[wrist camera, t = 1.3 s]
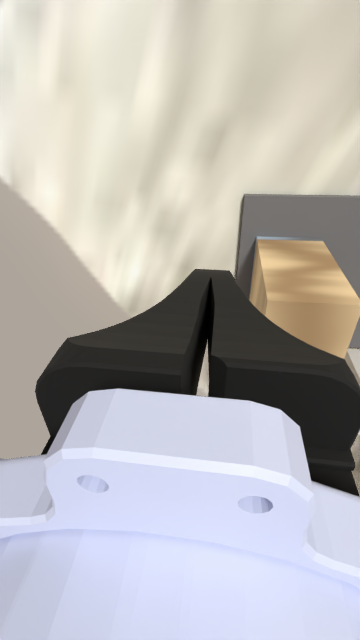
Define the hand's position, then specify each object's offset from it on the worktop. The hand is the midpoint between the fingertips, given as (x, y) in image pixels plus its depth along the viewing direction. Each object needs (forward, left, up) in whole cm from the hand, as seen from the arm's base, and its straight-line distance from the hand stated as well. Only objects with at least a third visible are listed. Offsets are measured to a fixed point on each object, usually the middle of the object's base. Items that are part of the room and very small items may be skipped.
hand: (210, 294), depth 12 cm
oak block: (-4, +4, -10) cm, 12 cm away
